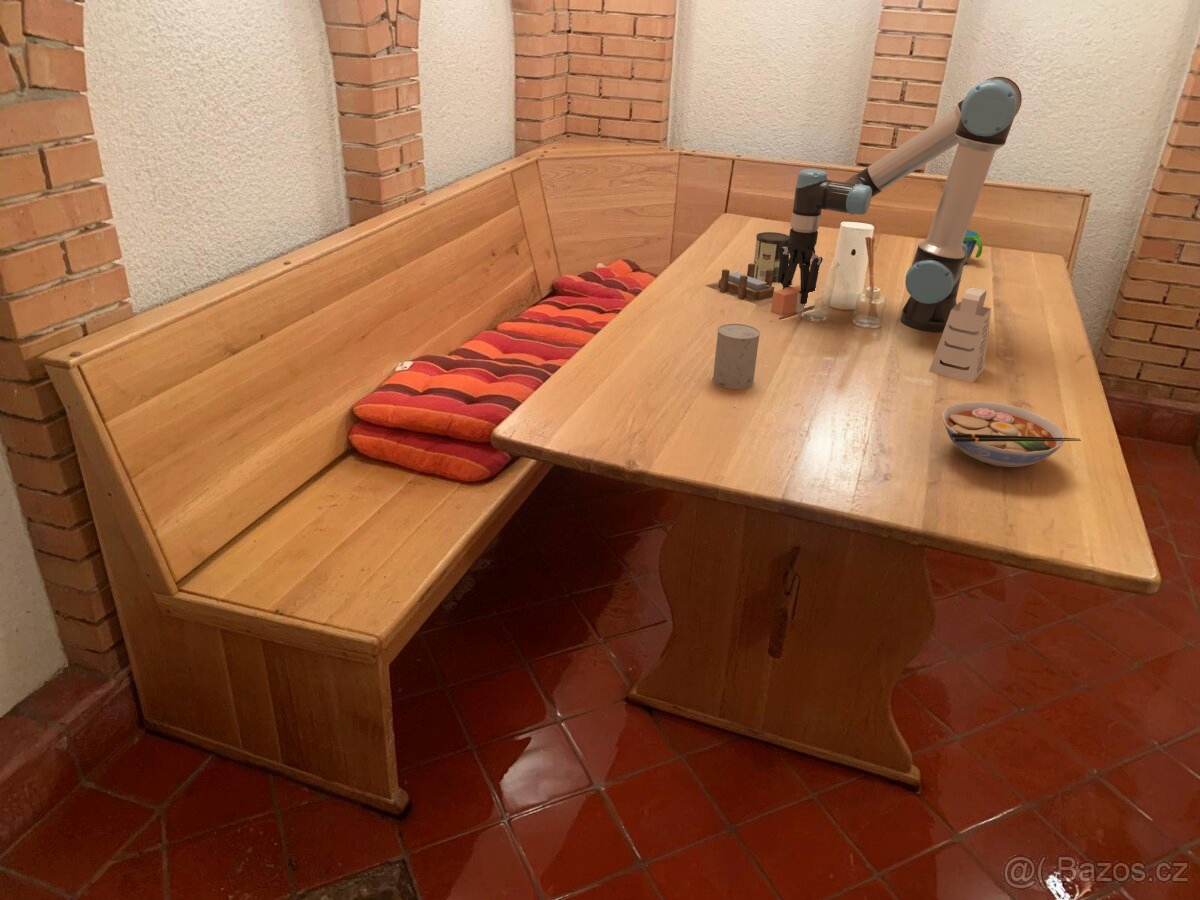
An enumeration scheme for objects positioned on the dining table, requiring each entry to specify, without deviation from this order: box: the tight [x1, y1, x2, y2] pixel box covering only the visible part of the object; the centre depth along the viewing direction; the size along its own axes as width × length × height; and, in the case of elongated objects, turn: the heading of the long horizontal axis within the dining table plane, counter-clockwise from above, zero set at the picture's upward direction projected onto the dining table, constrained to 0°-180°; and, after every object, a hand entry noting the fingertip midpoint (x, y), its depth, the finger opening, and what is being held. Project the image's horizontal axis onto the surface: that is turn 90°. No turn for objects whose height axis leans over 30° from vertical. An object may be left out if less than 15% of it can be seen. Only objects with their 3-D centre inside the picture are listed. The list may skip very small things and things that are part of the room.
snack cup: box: [963, 229, 983, 265], centre depth 308 cm, size 16×10×10 cm
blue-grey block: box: [728, 272, 767, 291], centre depth 267 cm, size 12×4×4 cm, turn 39°
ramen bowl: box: [941, 400, 1082, 468], centre depth 180 cm, size 25×23×8 cm
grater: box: [928, 287, 992, 383], centre depth 218 cm, size 10×10×20 cm
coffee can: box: [753, 231, 790, 283], centre depth 279 cm, size 10×10×14 cm
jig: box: [704, 262, 775, 306], centre depth 267 cm, size 22×13×8 cm, turn 39°
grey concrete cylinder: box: [712, 323, 761, 390], centre depth 209 cm, size 10×10×12 cm
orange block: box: [770, 284, 805, 320], centre depth 255 cm, size 4×14×7 cm, turn 129°
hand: (792, 311), depth 256 cm, fingers closed on orange block, 4 cm apart
